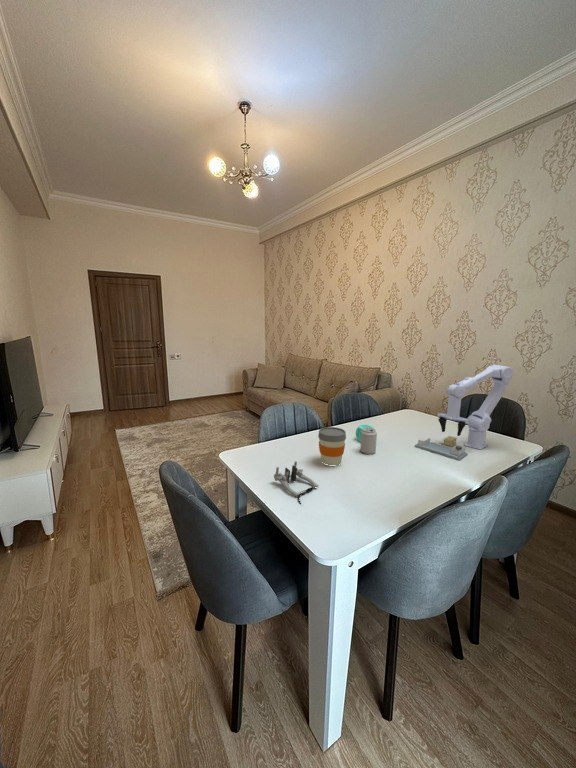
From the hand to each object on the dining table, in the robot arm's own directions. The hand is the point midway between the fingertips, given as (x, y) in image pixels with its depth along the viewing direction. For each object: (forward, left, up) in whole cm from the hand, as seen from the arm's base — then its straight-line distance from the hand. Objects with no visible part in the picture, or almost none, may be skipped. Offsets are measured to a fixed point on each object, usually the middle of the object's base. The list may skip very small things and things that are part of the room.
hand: (450, 433), depth 160 cm
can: (+38, -24, -8) cm, 46 cm away
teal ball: (+26, -34, -8) cm, 43 cm away
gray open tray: (+9, -1, -7) cm, 12 cm away
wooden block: (0, 0, -8) cm, 8 cm away
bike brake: (+88, -21, -8) cm, 91 cm away
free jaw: (+9, +7, -6) cm, 13 cm away
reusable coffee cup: (+61, -28, -8) cm, 67 cm away
